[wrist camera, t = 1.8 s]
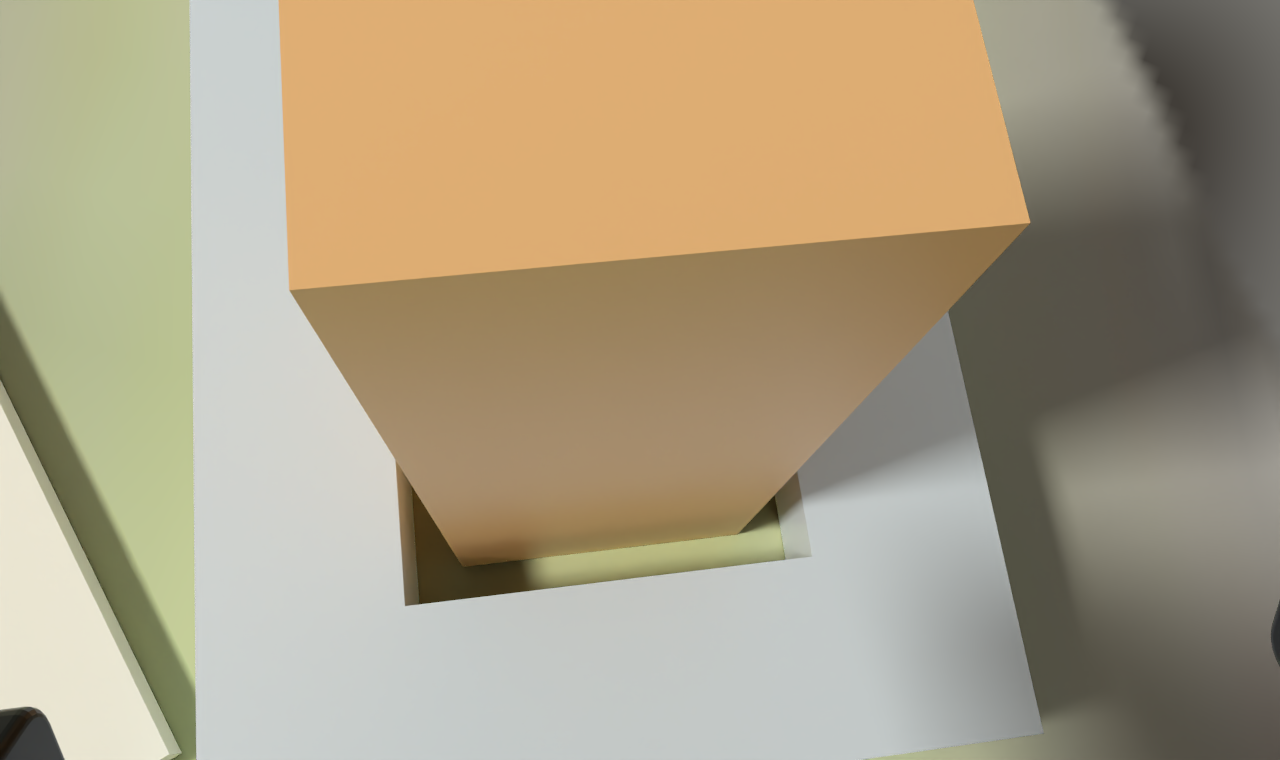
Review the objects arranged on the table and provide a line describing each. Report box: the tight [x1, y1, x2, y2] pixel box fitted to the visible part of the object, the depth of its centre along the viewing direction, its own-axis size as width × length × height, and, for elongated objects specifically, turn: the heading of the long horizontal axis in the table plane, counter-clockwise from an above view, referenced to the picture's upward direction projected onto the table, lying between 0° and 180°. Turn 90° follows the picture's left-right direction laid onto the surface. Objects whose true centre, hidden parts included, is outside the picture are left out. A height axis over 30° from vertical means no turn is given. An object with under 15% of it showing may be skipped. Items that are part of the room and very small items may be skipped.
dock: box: [190, 0, 1044, 760], centre depth 20 cm, size 18×13×2 cm
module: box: [278, 0, 1030, 567], centre depth 14 cm, size 5×5×13 cm
